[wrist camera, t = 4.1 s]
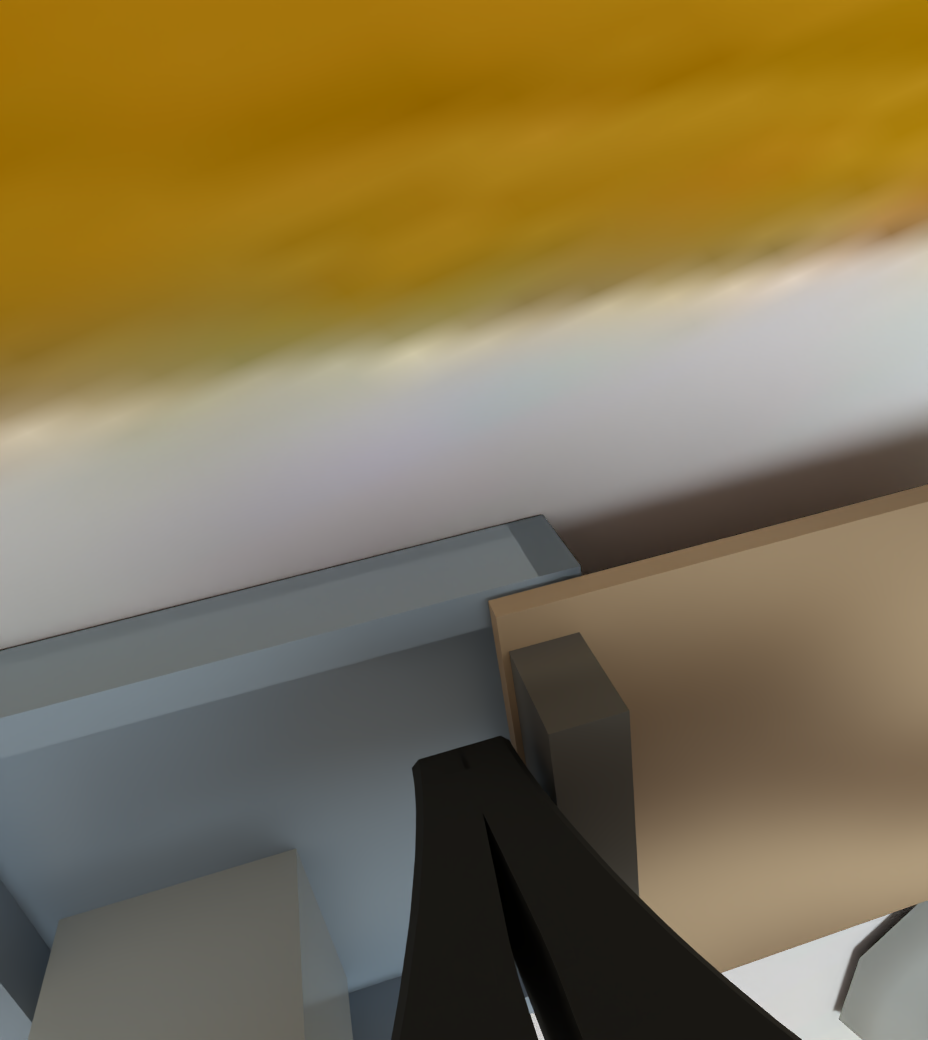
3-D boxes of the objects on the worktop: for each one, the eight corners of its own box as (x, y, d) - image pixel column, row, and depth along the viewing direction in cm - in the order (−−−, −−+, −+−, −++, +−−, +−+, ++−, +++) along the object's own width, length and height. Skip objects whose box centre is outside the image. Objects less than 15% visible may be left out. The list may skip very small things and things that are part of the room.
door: (956, 868, 16) (1040, 956, 14) (553, 1008, 15) (592, 1123, 13) (1071, 446, 11) (1219, 501, 10) (487, 600, 10) (535, 698, 8)
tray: (586, 913, 17) (615, 984, 15) (-355, 1224, 14) (-423, 1343, 13) (542, 514, 12) (580, 565, 10) (-922, 882, 9) (-1137, 1017, 8)
